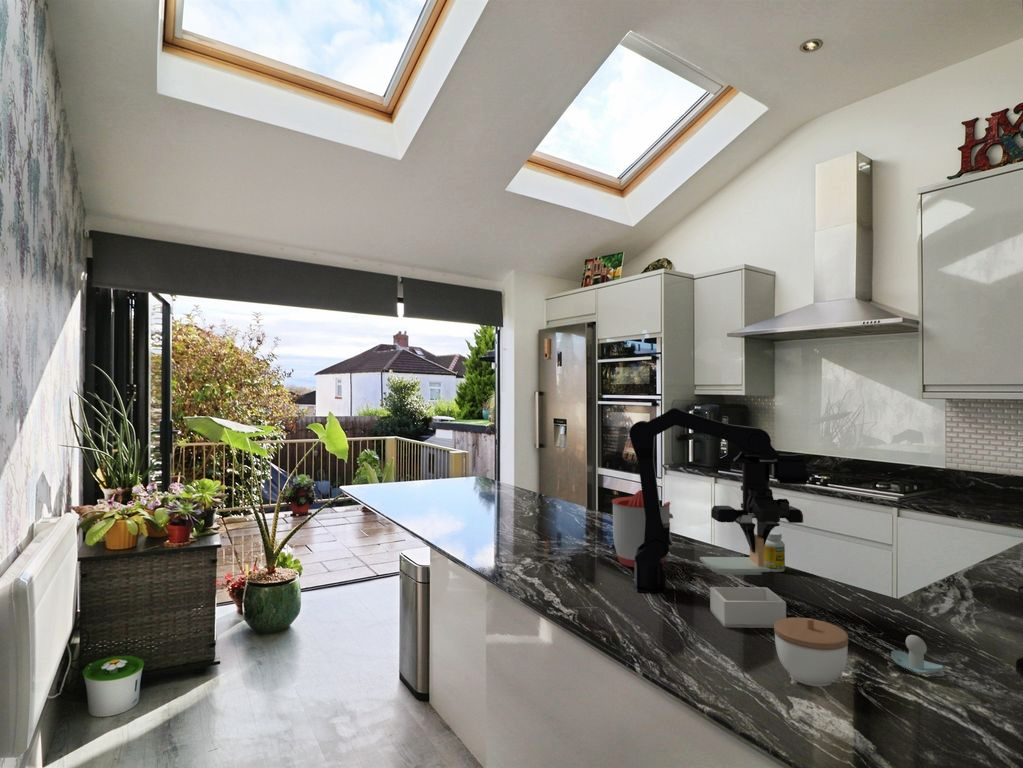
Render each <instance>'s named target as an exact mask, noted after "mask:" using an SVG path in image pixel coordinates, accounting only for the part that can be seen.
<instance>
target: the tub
mask: <svg viewBox="0 0 1023 768" xmlns="http://www.w3.org/2000/svg"><path fill="white" fill-rule="evenodd" d="M709 598H710V603H709V605H710V606H709V607H710V608H709V610H710V612H711V613H712V615H713V616H714V617H715V618H716V619H717V621H718V622H719V623H720V624H721V625H722V626H723V628H740V629H741V628H742V629H743V628H752V629H754V628H755V629H756V628H758V629H761V628H762V629H764V628H765V629H767V628H768V629H774V624H775V622H776V621H778V620H780V619H784V618H787V602H786V601H785V600H784V599H783V598H782V597H780V596H778V595H777V594H776V593H775V592H773V590H771V589H770V588H768V586H767V587H763V586H762V587H761V586H758V587H753V586H750V587H749V586H747V587H746V586H745V587H744V586H742V587H741V586H738V587H737V586H710V588H709Z"/></svg>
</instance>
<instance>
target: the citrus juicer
mask: <svg viewBox="0 0 1023 768" xmlns="http://www.w3.org/2000/svg"><path fill="white" fill-rule="evenodd" d="M611 503H612V536H613V543H614V548H615V551H616V556H617V558H618V562H619V563H620V564H621V565H623V566H626V567H631V568H634V560H635V555H636V552H637V548H638V547H639V546H640V545H641V544H643V543H644V535H645V520H646V518H645V510H644V503H643V495H642V489H640V490H638V491H636V492H635V494H633V495H632V496H623V497H616V498H613V499H612V500H611ZM670 505H671V502H670V501H667V502H664V503H663V505H660V509H661V515H662V518H663V521H664V524H665V523H669V522H670V519H674V516H673V514H672V513H671V511H670ZM666 558H667V556H666V557H664V558H662V559H661V562H662V563H663V564H664V563H665V560H666Z"/></svg>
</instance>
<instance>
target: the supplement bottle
mask: <svg viewBox="0 0 1023 768" xmlns="http://www.w3.org/2000/svg"><path fill="white" fill-rule="evenodd" d="M782 539H783V536H782V533H781V532H779V531H773V530H771V532H770V533H769V535H768V538H767V540H766V543H765V545H764V565H765V566H766V567H768V568H769V569H770V572H773V573H783V572H785V569H786V557H785V556H786V550H785V547H786V545H785V542H783V540H782Z"/></svg>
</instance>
